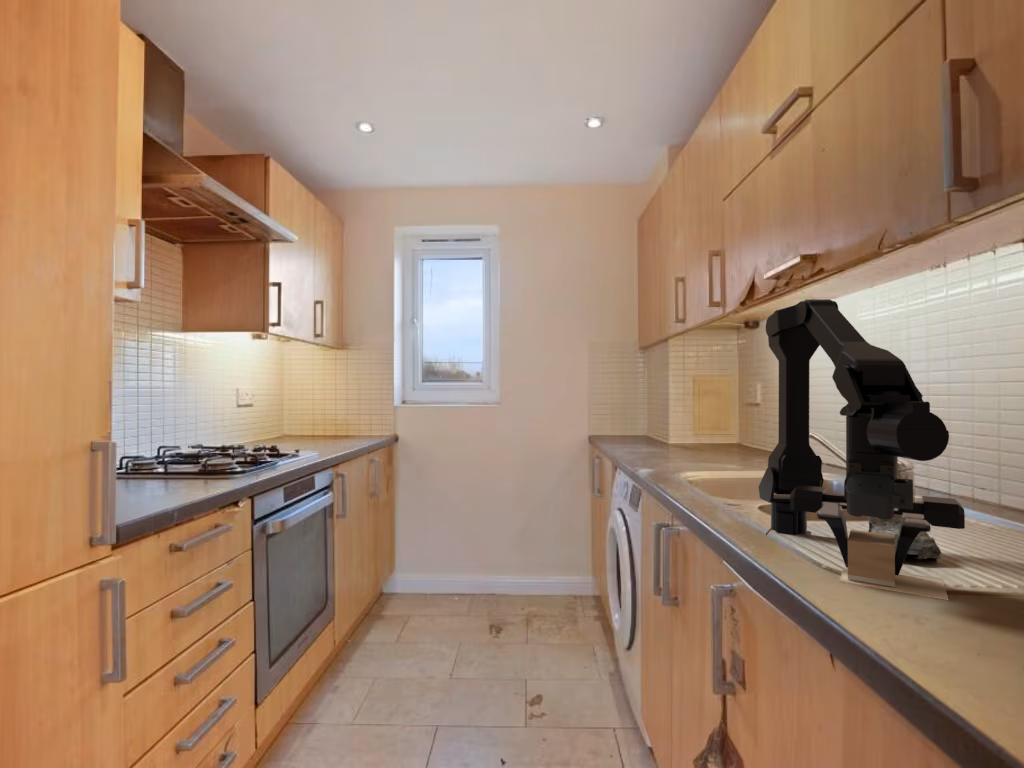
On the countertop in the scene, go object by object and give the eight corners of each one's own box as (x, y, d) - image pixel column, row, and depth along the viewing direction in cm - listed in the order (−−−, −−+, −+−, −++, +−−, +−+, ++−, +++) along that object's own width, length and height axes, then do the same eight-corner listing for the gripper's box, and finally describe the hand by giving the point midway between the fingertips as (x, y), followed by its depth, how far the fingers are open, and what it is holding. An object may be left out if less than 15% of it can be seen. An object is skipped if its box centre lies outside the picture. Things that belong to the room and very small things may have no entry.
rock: (947, 576, 77) (946, 529, 77) (876, 571, 80) (875, 525, 80) (908, 550, 90) (907, 510, 90) (847, 547, 92) (847, 507, 93)
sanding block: (851, 565, 77) (850, 529, 78) (894, 572, 75) (894, 534, 75) (847, 579, 72) (847, 540, 72) (895, 587, 69) (894, 546, 69)
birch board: (844, 572, 79) (844, 563, 79) (942, 587, 73) (942, 578, 73) (839, 590, 71) (839, 581, 71) (948, 610, 65) (948, 599, 65)
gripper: (783, 452, 72) (783, 573, 72) (969, 463, 61) (970, 605, 61) (795, 445, 81) (796, 553, 81) (959, 454, 71) (960, 578, 70)
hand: (871, 570), depth 73 cm, fingers closed on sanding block, 5 cm apart
